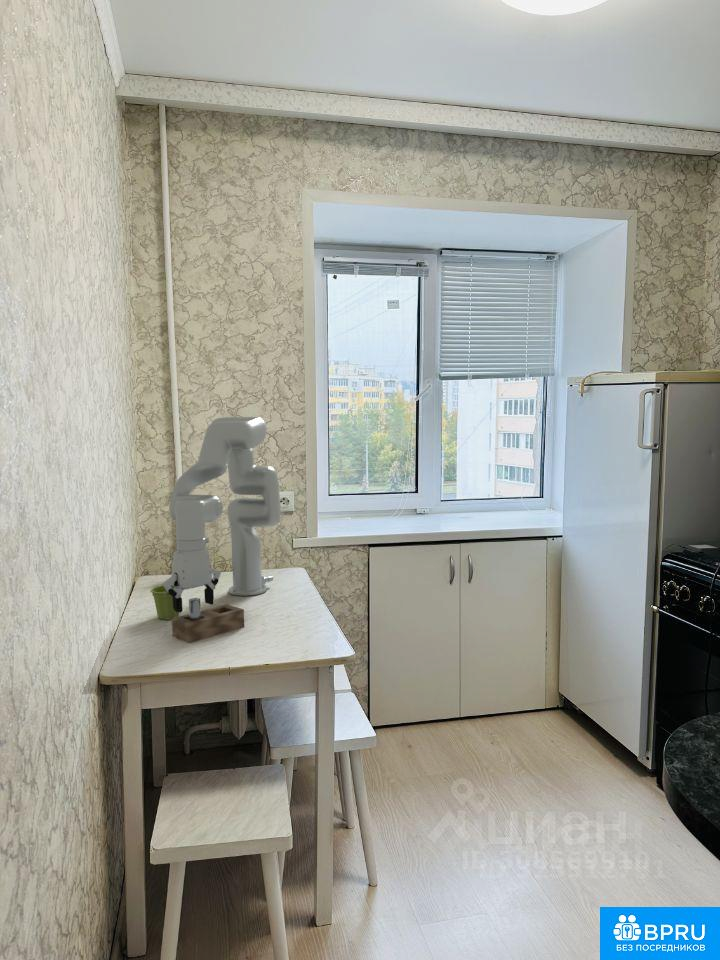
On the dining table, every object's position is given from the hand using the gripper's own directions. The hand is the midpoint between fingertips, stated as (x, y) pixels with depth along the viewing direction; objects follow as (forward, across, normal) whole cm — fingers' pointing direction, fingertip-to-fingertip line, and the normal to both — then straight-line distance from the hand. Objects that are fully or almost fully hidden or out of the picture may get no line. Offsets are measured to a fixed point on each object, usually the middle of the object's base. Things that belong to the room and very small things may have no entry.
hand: (194, 607), depth 185 cm
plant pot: (+8, -4, -21) cm, 23 cm away
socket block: (+8, -4, 0) cm, 9 cm away
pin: (+8, 0, 0) cm, 8 cm away
